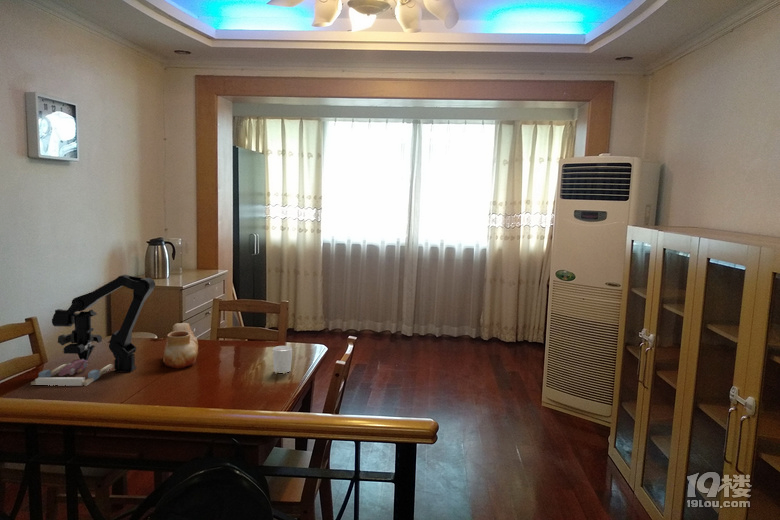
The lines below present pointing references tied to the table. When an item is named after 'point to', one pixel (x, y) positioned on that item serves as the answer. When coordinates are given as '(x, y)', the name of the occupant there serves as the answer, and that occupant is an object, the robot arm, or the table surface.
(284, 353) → the white cup
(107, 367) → the guide channel
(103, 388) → the table surface
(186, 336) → the ceramic vessel
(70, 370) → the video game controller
